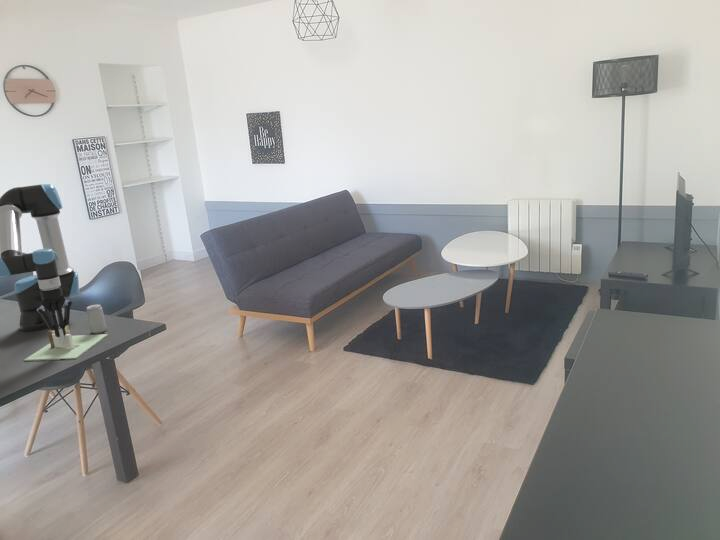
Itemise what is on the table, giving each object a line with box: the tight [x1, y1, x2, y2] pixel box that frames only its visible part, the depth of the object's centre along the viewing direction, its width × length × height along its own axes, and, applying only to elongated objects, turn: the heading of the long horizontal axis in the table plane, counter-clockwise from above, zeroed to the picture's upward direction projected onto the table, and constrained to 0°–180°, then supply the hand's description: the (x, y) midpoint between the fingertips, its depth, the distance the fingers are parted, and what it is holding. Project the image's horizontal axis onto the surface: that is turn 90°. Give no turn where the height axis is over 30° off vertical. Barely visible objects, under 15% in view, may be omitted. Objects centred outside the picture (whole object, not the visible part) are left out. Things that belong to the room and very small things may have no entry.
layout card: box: [23, 333, 109, 362], centre depth 231 cm, size 24×22×1 cm
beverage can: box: [85, 303, 107, 335], centre depth 245 cm, size 6×6×12 cm
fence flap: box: [52, 333, 75, 350], centre depth 228 cm, size 9×2×6 cm, turn 71°
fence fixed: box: [47, 325, 73, 348], centre depth 235 cm, size 12×2×8 cm, turn 175°
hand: (62, 343), depth 226 cm, fingers closed
